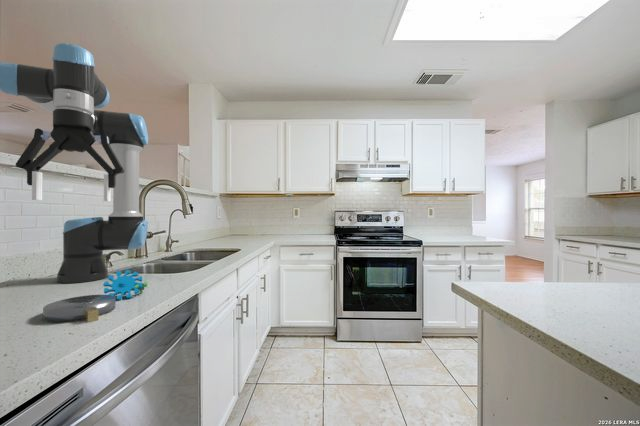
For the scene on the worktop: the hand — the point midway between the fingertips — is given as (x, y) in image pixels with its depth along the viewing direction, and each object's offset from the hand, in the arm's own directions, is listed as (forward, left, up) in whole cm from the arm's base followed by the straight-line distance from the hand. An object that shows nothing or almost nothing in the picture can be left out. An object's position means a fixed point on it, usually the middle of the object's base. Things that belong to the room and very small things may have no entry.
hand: (73, 200), depth 70 cm
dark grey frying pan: (-2, +1, -28) cm, 28 cm away
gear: (-15, +8, -28) cm, 33 cm away
